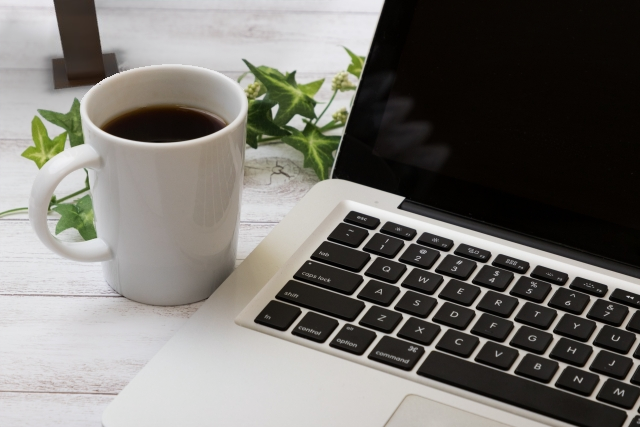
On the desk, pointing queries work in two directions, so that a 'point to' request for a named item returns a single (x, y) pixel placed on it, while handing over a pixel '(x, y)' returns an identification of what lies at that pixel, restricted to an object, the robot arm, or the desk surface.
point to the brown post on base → (80, 46)
